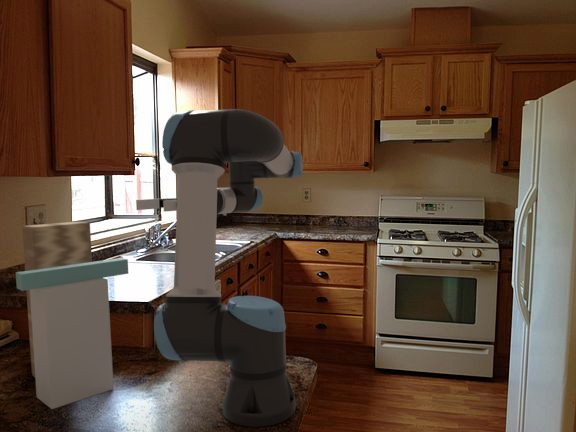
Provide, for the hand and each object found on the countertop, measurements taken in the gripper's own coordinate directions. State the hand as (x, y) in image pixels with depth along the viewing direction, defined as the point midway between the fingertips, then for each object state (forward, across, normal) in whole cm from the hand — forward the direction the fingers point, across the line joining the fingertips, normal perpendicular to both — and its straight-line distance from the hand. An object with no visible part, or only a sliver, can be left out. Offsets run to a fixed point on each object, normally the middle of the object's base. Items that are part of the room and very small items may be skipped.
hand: (150, 205), depth 131 cm
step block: (+22, -2, -42) cm, 48 cm away
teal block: (+21, -2, -16) cm, 26 cm away
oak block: (+18, +14, -42) cm, 48 cm away
